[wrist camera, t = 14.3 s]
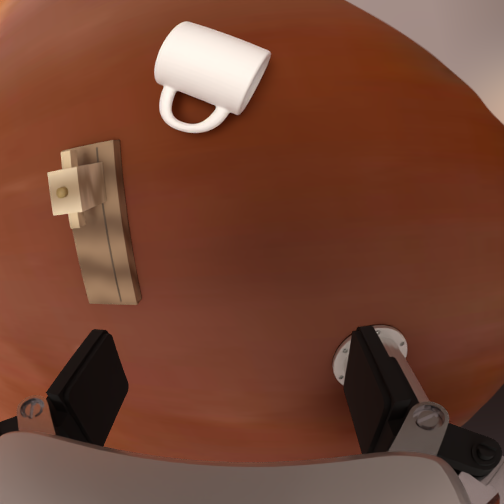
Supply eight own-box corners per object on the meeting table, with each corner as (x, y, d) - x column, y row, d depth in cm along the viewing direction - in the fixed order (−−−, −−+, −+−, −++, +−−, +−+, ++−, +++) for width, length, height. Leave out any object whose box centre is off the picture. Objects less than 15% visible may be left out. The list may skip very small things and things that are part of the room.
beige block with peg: (108, 216, 36) (81, 231, 30) (81, 219, 36) (52, 234, 30) (101, 146, 33) (71, 148, 27) (73, 151, 33) (41, 156, 27)
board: (141, 298, 42) (136, 305, 40) (95, 297, 43) (89, 303, 41) (119, 139, 35) (112, 140, 33) (70, 149, 35) (62, 150, 33)
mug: (196, 34, 30) (181, 10, 23) (270, 62, 32) (273, 42, 24) (153, 118, 34) (127, 112, 27) (225, 148, 35) (217, 149, 28)
